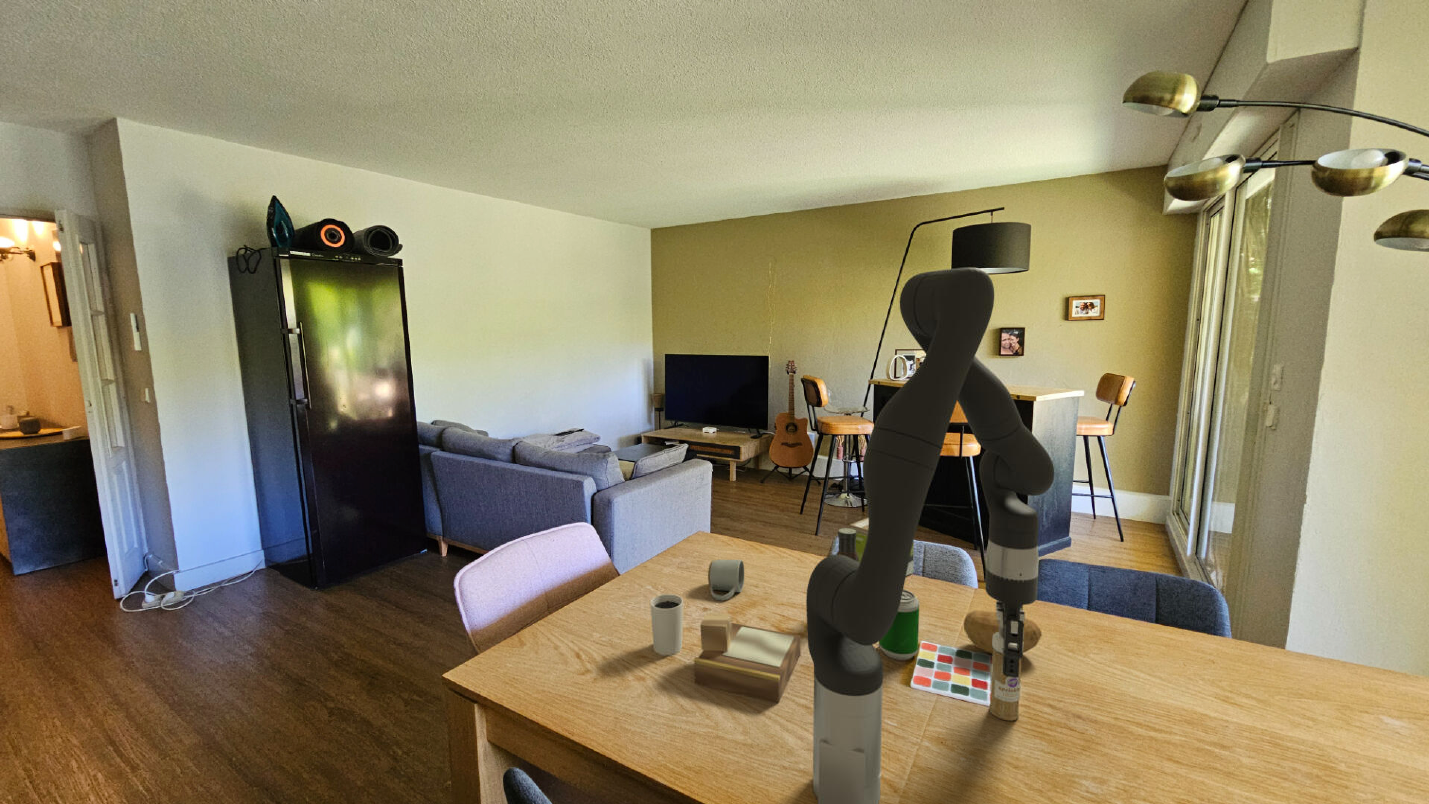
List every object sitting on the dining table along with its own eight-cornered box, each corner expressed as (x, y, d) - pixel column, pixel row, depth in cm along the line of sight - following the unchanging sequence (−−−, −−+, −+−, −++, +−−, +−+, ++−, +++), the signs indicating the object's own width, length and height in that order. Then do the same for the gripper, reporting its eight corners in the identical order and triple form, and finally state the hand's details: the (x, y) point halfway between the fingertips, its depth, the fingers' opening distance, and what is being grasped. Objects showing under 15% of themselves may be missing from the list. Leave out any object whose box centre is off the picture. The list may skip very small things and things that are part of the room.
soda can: (920, 664, 111) (922, 605, 109) (880, 660, 112) (881, 602, 111) (915, 643, 118) (916, 588, 116) (877, 640, 119) (878, 585, 118)
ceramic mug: (713, 581, 149) (713, 553, 148) (745, 583, 147) (744, 555, 146) (703, 600, 139) (703, 570, 137) (737, 603, 137) (736, 573, 136)
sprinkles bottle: (1003, 724, 94) (1007, 647, 92) (982, 707, 98) (986, 632, 96) (1025, 718, 95) (1030, 642, 93) (1004, 701, 99) (1008, 628, 98)
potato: (1047, 671, 108) (1049, 630, 107) (966, 661, 111) (968, 622, 110) (1032, 643, 117) (1034, 606, 116) (958, 635, 121) (960, 599, 120)
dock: (778, 703, 100) (778, 678, 99) (694, 683, 106) (694, 659, 105) (800, 654, 114) (800, 633, 114) (725, 639, 120) (725, 619, 120)
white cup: (646, 644, 119) (645, 598, 118) (676, 636, 122) (675, 591, 121) (658, 660, 113) (657, 612, 112) (689, 651, 116) (688, 604, 115)
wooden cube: (725, 626, 108) (731, 614, 113) (700, 625, 109) (706, 612, 114) (727, 651, 108) (732, 638, 113) (701, 650, 109) (708, 636, 114)
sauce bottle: (862, 624, 126) (863, 537, 124) (833, 622, 127) (834, 535, 125) (859, 610, 132) (860, 526, 130) (831, 608, 133) (832, 525, 131)
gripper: (1044, 590, 85) (1039, 691, 87) (1032, 554, 98) (1027, 643, 101) (988, 583, 88) (985, 681, 90) (983, 549, 101) (980, 635, 103)
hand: (1007, 661), depth 95 cm, fingers open, 8 cm apart
